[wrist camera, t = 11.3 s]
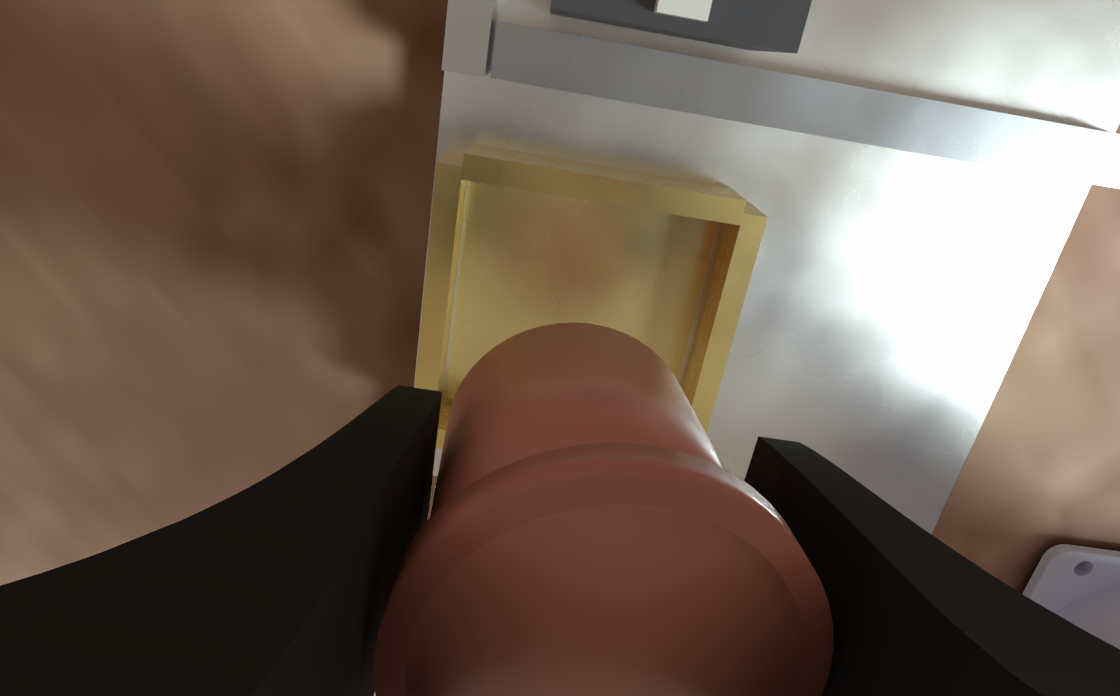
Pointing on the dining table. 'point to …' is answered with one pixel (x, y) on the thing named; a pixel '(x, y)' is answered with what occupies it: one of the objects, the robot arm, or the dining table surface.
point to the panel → (775, 212)
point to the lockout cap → (595, 543)
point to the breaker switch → (702, 19)
